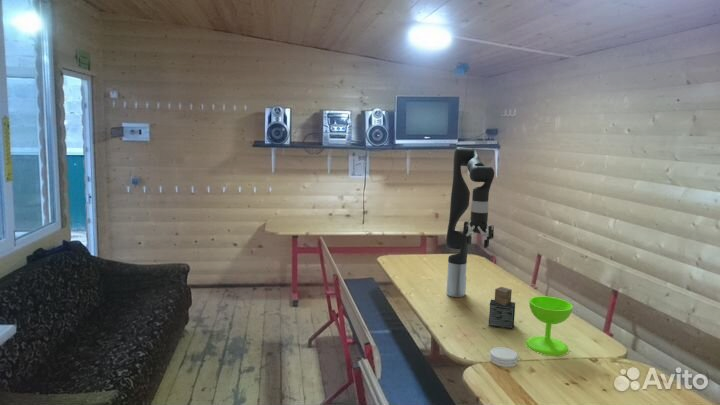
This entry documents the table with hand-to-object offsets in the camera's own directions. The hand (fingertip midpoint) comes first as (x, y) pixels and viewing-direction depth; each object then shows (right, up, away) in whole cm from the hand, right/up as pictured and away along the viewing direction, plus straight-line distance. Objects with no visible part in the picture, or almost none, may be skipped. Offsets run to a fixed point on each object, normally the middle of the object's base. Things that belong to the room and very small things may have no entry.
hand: (477, 245), depth 224 cm
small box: (+9, -34, -8) cm, 36 cm away
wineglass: (+21, -38, -28) cm, 51 cm away
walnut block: (+9, -24, -10) cm, 27 cm away
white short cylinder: (0, -39, -41) cm, 57 cm away
